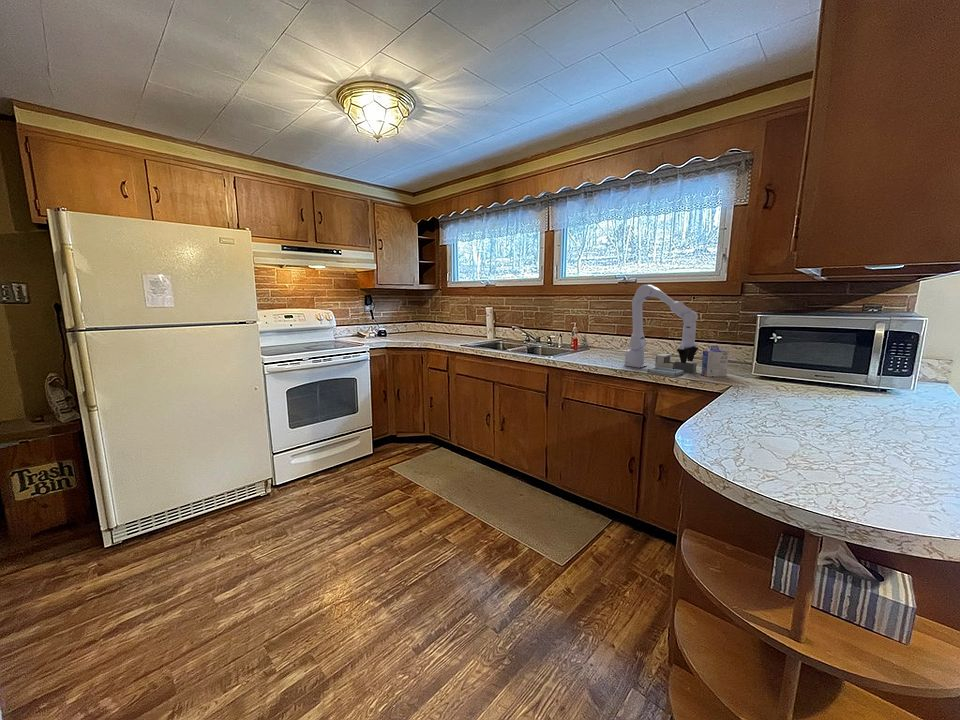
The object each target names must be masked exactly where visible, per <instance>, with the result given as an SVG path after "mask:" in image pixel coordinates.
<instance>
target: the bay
mask: <svg viewBox="0 0 960 720" xmlns="http://www.w3.org/2000/svg"><path fill="white" fill-rule="evenodd" d="M672 356H673V354H672V353H660V354H655V363H654V367H663V368H670V369H673V368H674V367H675V361H672V360H671V359H672Z"/></svg>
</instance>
